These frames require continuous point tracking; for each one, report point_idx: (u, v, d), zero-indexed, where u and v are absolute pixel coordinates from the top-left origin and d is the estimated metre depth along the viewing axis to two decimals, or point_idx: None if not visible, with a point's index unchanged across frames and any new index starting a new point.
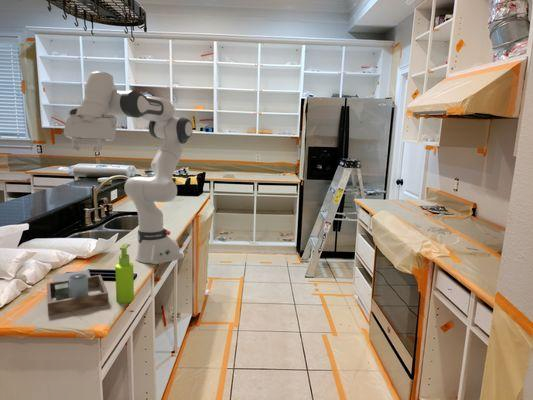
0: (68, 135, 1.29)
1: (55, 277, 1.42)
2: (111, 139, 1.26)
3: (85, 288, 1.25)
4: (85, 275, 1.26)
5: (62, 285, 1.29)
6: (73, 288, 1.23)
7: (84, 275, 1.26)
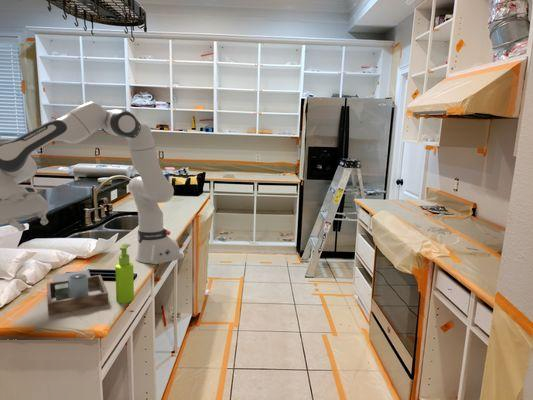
0: None
1: (55, 277, 1.42)
2: (0, 221, 1.17)
3: (85, 288, 1.25)
4: (85, 275, 1.26)
5: (62, 285, 1.29)
6: (73, 288, 1.23)
7: (84, 275, 1.26)
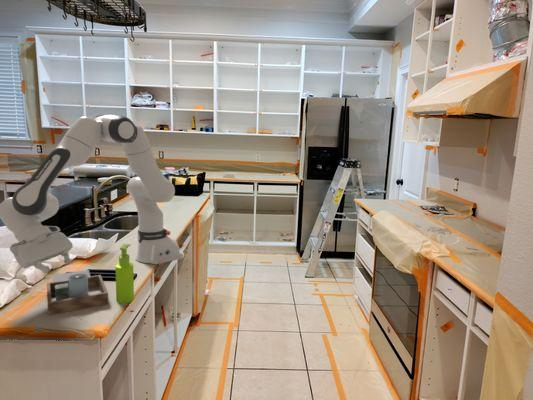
0: None
1: (55, 277, 1.42)
2: (26, 264, 1.17)
3: (85, 288, 1.25)
4: (85, 275, 1.26)
5: (62, 285, 1.29)
6: (73, 288, 1.23)
7: (84, 275, 1.26)
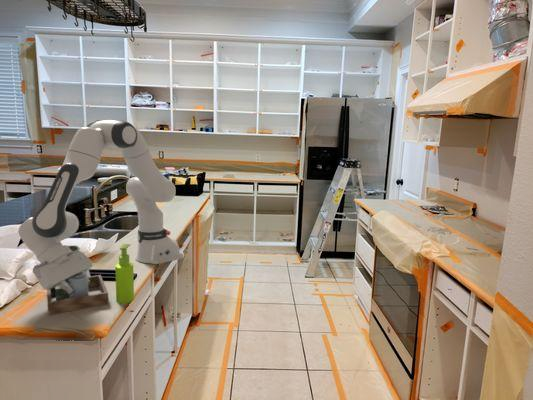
0: None
1: None
2: (49, 287, 1.17)
3: (85, 288, 1.25)
4: (85, 275, 1.26)
5: None
6: None
7: (84, 275, 1.26)
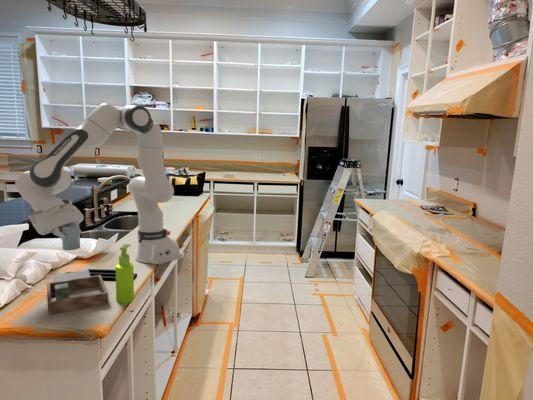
0: None
1: (55, 277, 1.42)
2: (44, 231, 1.28)
3: (77, 236, 1.37)
4: (77, 224, 1.38)
5: (62, 285, 1.29)
6: None
7: (76, 224, 1.38)
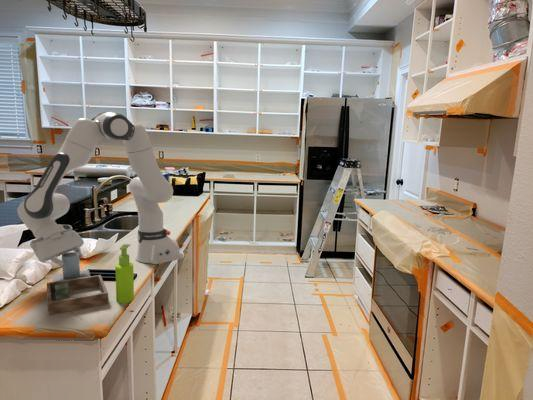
0: None
1: (55, 277, 1.42)
2: (44, 259, 1.33)
3: (76, 265, 1.42)
4: (77, 254, 1.43)
5: (62, 285, 1.29)
6: (65, 264, 1.39)
7: (76, 254, 1.43)
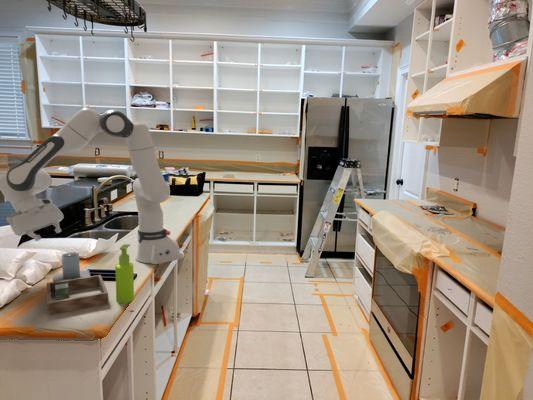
0: None
1: (55, 277, 1.42)
2: (19, 233, 1.37)
3: (76, 265, 1.41)
4: (76, 254, 1.43)
5: (62, 285, 1.29)
6: (65, 264, 1.39)
7: (76, 254, 1.43)
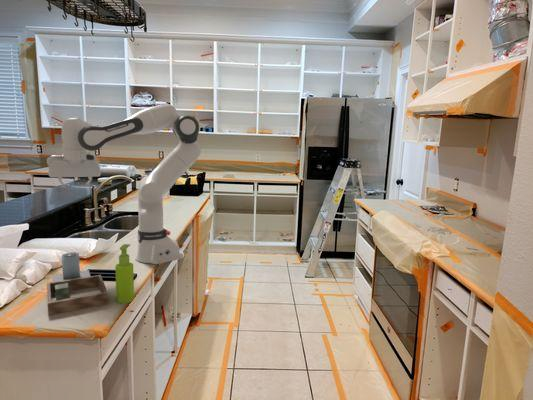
0: None
1: (55, 277, 1.42)
2: None
3: (76, 265, 1.41)
4: (76, 254, 1.43)
5: (62, 285, 1.29)
6: (65, 264, 1.39)
7: (76, 254, 1.43)
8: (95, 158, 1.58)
